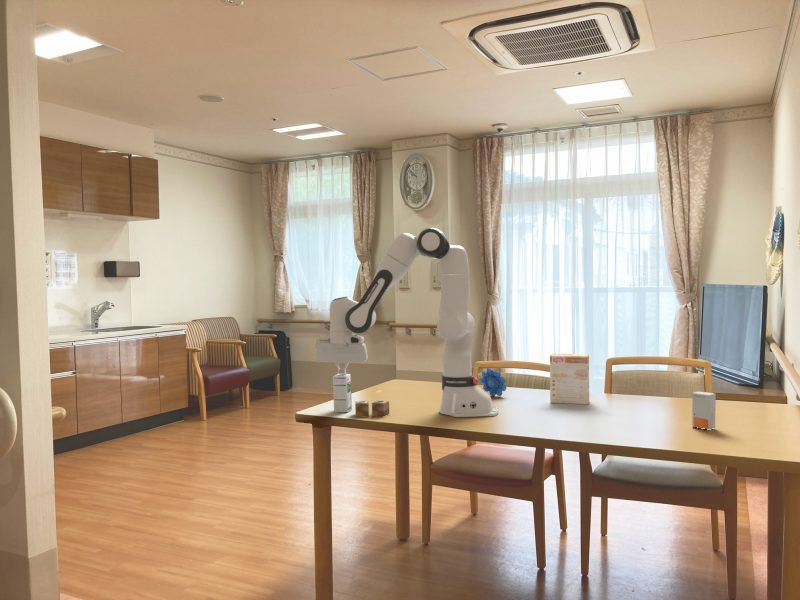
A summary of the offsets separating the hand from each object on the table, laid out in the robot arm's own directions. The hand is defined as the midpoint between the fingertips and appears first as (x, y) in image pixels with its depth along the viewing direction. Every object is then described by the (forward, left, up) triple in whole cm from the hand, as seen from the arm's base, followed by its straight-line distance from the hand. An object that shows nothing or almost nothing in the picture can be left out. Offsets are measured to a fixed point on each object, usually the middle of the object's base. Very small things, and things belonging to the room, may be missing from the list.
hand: (342, 373), depth 254 cm
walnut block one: (-9, +7, -15) cm, 19 cm away
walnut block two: (-16, +6, -15) cm, 23 cm away
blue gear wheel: (-59, -32, -15) cm, 69 cm away
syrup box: (0, 0, -15) cm, 15 cm away
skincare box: (-128, +22, -15) cm, 131 cm away
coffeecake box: (-90, -21, -15) cm, 94 cm away
